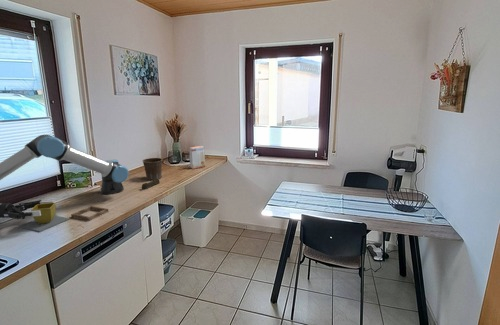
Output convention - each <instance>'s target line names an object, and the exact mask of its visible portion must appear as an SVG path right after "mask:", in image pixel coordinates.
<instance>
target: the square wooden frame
mask: <svg viewBox="0 0 500 325" xmlns="http://www.w3.org/2000/svg"><path fill="white" fill-rule="evenodd" d="M89 211H95V212H96V213H94V214H92V215H89V216H88V215H83V214H84V213H87V212H89ZM106 213H109V208H104V207H99V206H92V205H91V206H88V207H85V208H83V209H81V210H78V211H76V212H73V213H72V214H70V217H71V218H73V219H77V220H83V221H87V222H89V221H92V220H94V219H96V218H98V217H100V215H101V216H103V215H105V214H106ZM102 214H103V215H102Z"/></svg>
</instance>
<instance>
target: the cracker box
mask: <svg viewBox="0 0 500 325" xmlns="http://www.w3.org/2000/svg"><path fill="white" fill-rule="evenodd" d="M188 150H189V152H188V153H189V168H190V169H192V170H197V169H202V168H206V159H205V158H206V155H205V151H206V150H205V146H203V145H199V146H198V145H197V146H191V147H189V148H188Z"/></svg>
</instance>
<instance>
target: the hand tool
mask: <svg viewBox="0 0 500 325" xmlns="http://www.w3.org/2000/svg"><path fill="white" fill-rule="evenodd" d="M160 183H161V182H160V179H155V180H150V182H145V183H142V185H141V191H145V190H148V189H149V188H150V187H153V186H155V185H159V184H160Z"/></svg>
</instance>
